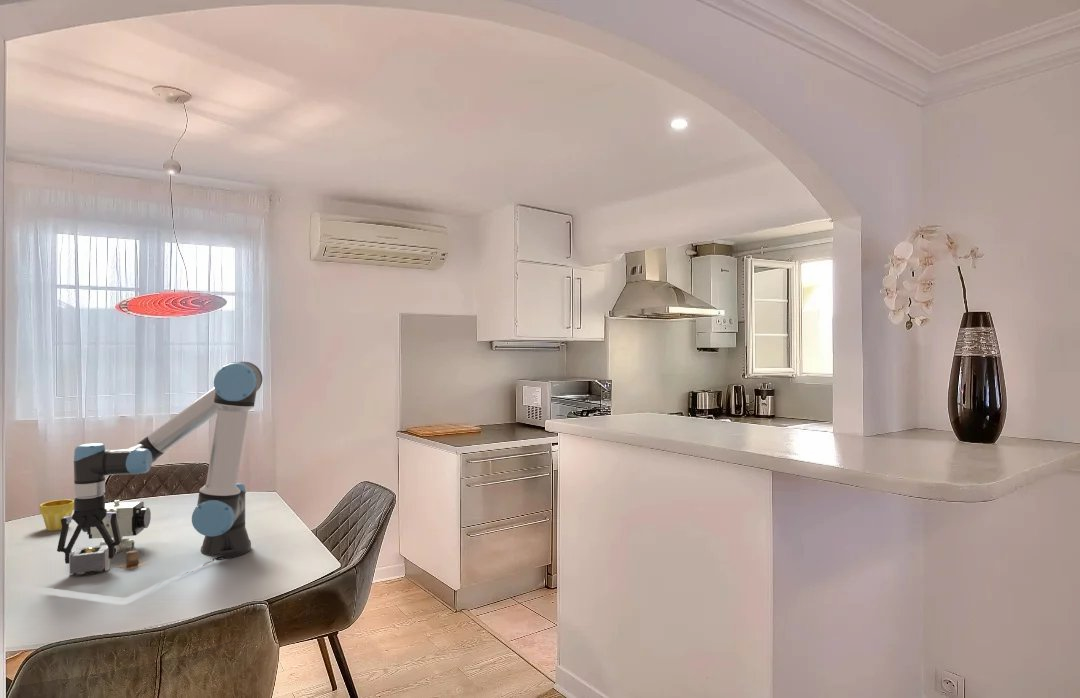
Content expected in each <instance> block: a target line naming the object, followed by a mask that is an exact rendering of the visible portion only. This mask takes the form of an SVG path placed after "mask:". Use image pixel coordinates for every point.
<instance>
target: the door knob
mask: <svg viewBox="0 0 1080 698" xmlns="http://www.w3.org/2000/svg"><path fill="white" fill-rule="evenodd" d="M89 547H90V548H87V549H86V550H85V552H84V553H91V552H95V549H94V548H91V547H92V546H89ZM103 571H104V569H102V570H94V571H87V572H79V573H75V574H76V576H78V577H87V576H88V577H89V576H93V575H94V576H95V575H96V574H99V573H102V572H103Z"/></svg>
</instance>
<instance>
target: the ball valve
mask: <svg viewBox="0 0 1080 698" xmlns="http://www.w3.org/2000/svg"><path fill="white" fill-rule="evenodd" d="M120 501H121V500H120V499H118V500H117V499H115V500H113V503H105V509H106V511H107V512H115V511H117V512H118V515H117V523H118V527H119V532H120V536H121V543H120V544H119V545H116V546H114V550H115V551H114V554H117V553H119V552H122V551H127V550H132V548H134V547H135V546H136V545H135V543H136V542H135V540H134V539H130V538H124V537H131V536H132V537H134V536H137V535H138V534H140V533H142V531H143V530H145V529H147V528H149V525H150V524H151V519H152V518H151V514H152V513H151V509H150V508H149V507H146V506H145V501H133V502H120ZM102 521H103V523H104V526H105V528H106V529H107V531H108V533H109V535H110V536H111V538H112V540H113V541H114V536H113V532H112V527H111V522H110V521H111V520H109V519H108V517H107V516H105V518H104V519H103V520H102ZM81 531H82V532H83V533H86V534H87V536H88V539H89V540H90V539H93V540H94V539H103V537H102V535H101V534H100V532H99V530H98V529H97V528H96V527H87V528H82V530H81ZM102 545H107V544H106V542H105V541H101V542H100V543H99V545H98V546H102Z"/></svg>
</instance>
